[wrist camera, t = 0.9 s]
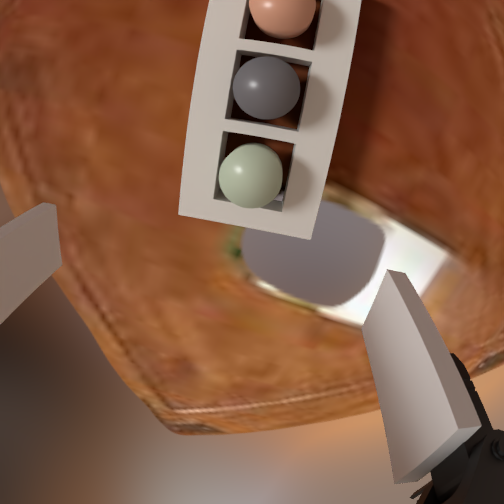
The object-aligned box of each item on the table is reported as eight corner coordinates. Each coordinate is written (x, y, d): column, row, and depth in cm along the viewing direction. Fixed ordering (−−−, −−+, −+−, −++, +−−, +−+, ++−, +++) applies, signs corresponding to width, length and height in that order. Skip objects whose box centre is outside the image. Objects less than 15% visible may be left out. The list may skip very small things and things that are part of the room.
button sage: (230, 138, 25) (223, 142, 22) (287, 148, 25) (287, 153, 22) (222, 192, 27) (214, 202, 24) (276, 202, 27) (275, 213, 24)
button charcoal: (243, 58, 22) (238, 52, 19) (303, 68, 21) (305, 63, 19) (234, 112, 24) (227, 113, 21) (292, 122, 24) (293, 125, 21)
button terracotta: (258, -14, 18) (254, -27, 16) (316, -5, 18) (320, -17, 16) (248, 34, 21) (243, 25, 18) (307, 44, 20) (310, 36, 18)
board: (226, -30, 19) (219, -42, 17) (356, -9, 19) (364, -19, 16) (187, 204, 30) (178, 214, 28) (308, 227, 30) (310, 239, 28)
